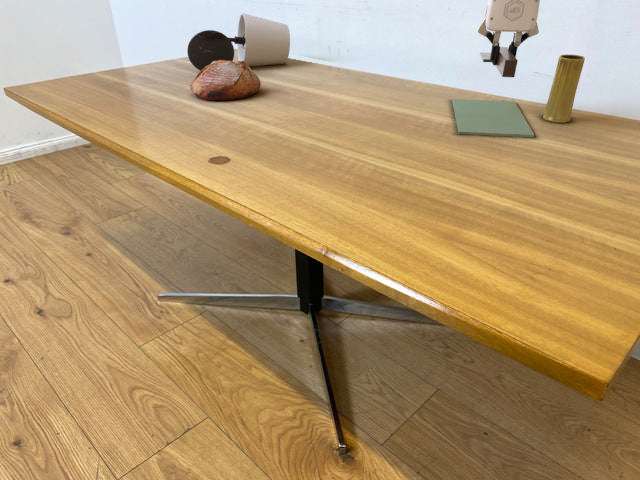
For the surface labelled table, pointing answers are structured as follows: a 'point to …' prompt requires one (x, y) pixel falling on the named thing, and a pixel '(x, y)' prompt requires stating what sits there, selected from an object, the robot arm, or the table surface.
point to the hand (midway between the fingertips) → (501, 63)
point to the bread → (225, 81)
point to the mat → (490, 118)
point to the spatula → (503, 62)
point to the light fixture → (243, 44)
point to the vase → (564, 88)
